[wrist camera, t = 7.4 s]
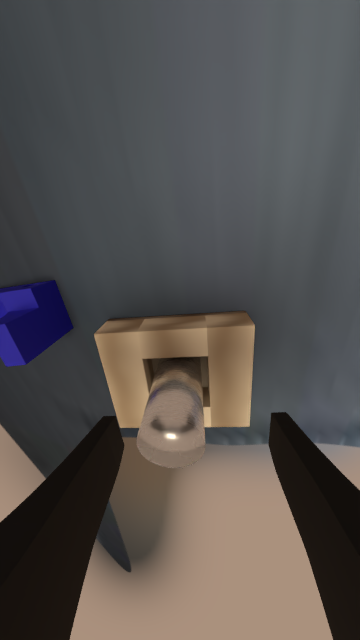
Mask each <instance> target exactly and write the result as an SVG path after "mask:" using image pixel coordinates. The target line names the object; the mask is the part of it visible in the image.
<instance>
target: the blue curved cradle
mask: <svg viewBox="0 0 360 640" xmlns="http://www.w3.org/2000/svg"><path fill="white" fill-rule="evenodd" d="M72 328H73V326H72V323H71V320H70V318H69V315H68V313H67V310H66V308H65V305H64V302H63V300H62V297H61V295H60V292H59V290H58V287H57V284H56V282H55V280H53V281H46V282H40V283H33V284H27V285H20V286H14V287H7V288H1V289H0V356H1V358H2V360H3V362H4V363H5V365H6V367H7V366H17V365H26V364H27V363H29V362H30V361H31V360H33V359H34V358H35V357H36V356H38V355H39V354H40V353H42V352H43V351H44V350H45V349H47V348H48V347H49V346H51V345H52V344H53V343H54V342H56V341H57V340H58V339H60V338H61V337H62V336H63V335H65V334H66V333H67V332H69V331H70V330H71V329H72Z"/></svg>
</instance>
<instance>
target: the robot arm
mask: <svg viewBox="0 0 360 640" xmlns="http://www.w3.org/2000/svg"><path fill="white" fill-rule="evenodd" d="M269 448H270V452H271V455H272V459H273V463H274V466H275V470H276V472H277V475H278V478H279V480H280V483H281V486H282V489H283V491H284V494H285V496H286V499H287V501H288V504H289V507H290V509H291V512H292V515H293V517H294V520H295V523H296V525H297V528H298V530H299V533H300V536H301V538H302V541H303V543H304V546H305V549H306V552H307V555H308V558H309V561H310V564H311V567H312V571H313V574H314V577H315V580H316V584H317V587H318V590H319V593H320V597H321V600H322V603H323V606H324V610H325V613H326V617H327V620H328V623H329V627H330V630H331V633H332V636H333V640H360V490H358V489H357V487H355V486H354V484H352V483H351V482H350V481H349V480H348V479H347V478H346V477H345V476H344V475H343V474H342V473H341V472H340V471H339V470H338V469H337V468H336V466H335V465H333V463H332V462H331V461H330V460H329V459H328V458H327V457H326V456H325V455H324V454H323V453H322V452H321V451H320V450H319V449H318V448H317V446H316V445H315V444H314V443H313V442H312V441H311V440H310V439H309V438H308V437H307V435H306V434H305V433H304V432H303V431H302V430H301V429H300V427H299V426H298V425H297V424H296V423H295V422H294V421H293V419H292V418H291V417H290V416H289V415H288V414H287V413H286V412H278V413H271V423H270V434H269ZM123 450H124V442H123V439H122V436H121V433H120V429H119V426H118V423H117V419H116V416H103V417H102V419H101V420H100V421H99V422H98V423H97V424H96V425H95V426H94V427H93V429H92V430H91V431H90V432H89V433H88V434H87V435H86V436H85V438H84V439H83V440H82V441H81V442H80V443H79V444H78V445H77V447H76V448H75V449H74V450H73V451H72V452H71V453H70V454H69V455H68V456H67V458H66V459H65V460H64V461H63V462H62V463H61V464H60V465H59V466H58V467H57V468H56V469H55V470H54V471H53V472H52V473H51V474H50V475H49V476H48V478H47V479H46V480H45V481H44V482H43V483H42V484H41V485H40V486H39V487H38V488H37V489H36V490H35V491H34V492H33V493H32V494H31V495H30V496H29V497H27V498H26V499H25V500H24V501H23V502H22V503H21V504H20V505H19V506H18V507H17V508H16V509H15V510H14V511H12V512H11V513H10V514H9V515H8V516H7V517H6V518H5V519H4V520H3V521H1V522H0V640H69V639H70V635H71V631H72V627H73V622H74V618H75V614H76V610H77V606H78V602H79V598H80V594H81V590H82V586H83V582H84V579H85V575H86V571H87V567H88V564H89V560H90V556H91V552H92V549H93V545H94V542H95V539H96V536H97V532H98V530H99V527H100V524H101V521H102V518H103V515H104V512H105V509H106V506H107V503H108V500H109V497H110V495H111V492H112V489H113V486H114V483H115V480H116V477H117V474H118V471H119V466H120V463H121V459H122V454H123Z"/></svg>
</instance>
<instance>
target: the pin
mask: <svg viewBox="0 0 360 640" xmlns="http://www.w3.org/2000/svg"><path fill="white" fill-rule="evenodd" d="M137 447H138V449H139V451H140V453H141V454H142V455H143V456H144V457H145V458H146V459H148V460H149V461H151V462H152V463H155V464H157V465H160V466H164V467H169V468H180V467H185V466H189V465H191V464H193V463H195V462H197V461H198V460H199V459H200V458H201V457H202V456H203V454H204V451H205V429H204V410H203V391H202V372H201V361H200V358H199V356H198V357H174V358H159V362H158V365H157V369H156V372H155V376H154V379H153V383H152V386H151V390H150V394H149V397H148V401H147V404H146V408H145V411H144V415H143V418H142V422H141V425H140V429H139V432H138V436H137Z"/></svg>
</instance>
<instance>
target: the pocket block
mask: <svg viewBox="0 0 360 640" xmlns="http://www.w3.org/2000/svg"><path fill="white" fill-rule="evenodd" d="M254 334H255V325H254V323H253V322H252V320H251V319H250V317H249V316H248V314H247V313H246V311H232V312H216V313H200V314H184V315H167V316H151V317H135V318H118V319H109V320H108V321H106V322H105V323H104V324H103V325H102V326H101V327H100V328H99V329H98V330H97V331H96V332H95V333H94V336H95V340H96V343H97V347H98V351H99V354H100V358H101V361H102V365H103V368H104V372H105V375H106V379H107V383H108V386H109V390H110V393H111V397H112V400H113V404H114V407H115V411H116V415H117V418H118V422H119V425H120V428H140V425H141V422H142V418H143V415H144V411H145V408H146V404H147V401H148V397H149V394H150V390H151V386H152V383H153V379H154V376H155V372H156V369H157V365H158V362H159V358H174V357H198V356H199V358H200V361H201V372H202V391H203V410H204V427H249V424H250V406H251V388H252V370H253V352H254Z"/></svg>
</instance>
